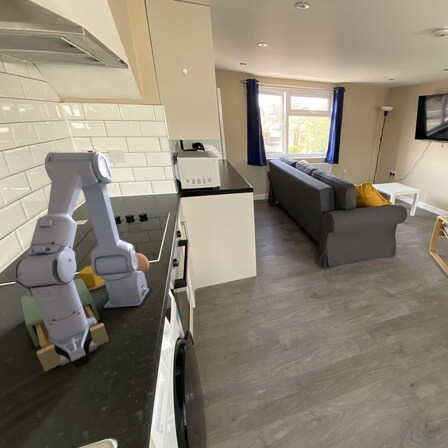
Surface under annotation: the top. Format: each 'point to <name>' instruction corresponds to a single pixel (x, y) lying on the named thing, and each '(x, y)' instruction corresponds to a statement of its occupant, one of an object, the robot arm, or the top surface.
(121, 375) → the top surface
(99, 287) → the coaster
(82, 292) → the cabinet
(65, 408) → the top surface
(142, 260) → the egg
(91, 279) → the orange block
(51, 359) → the drawer
